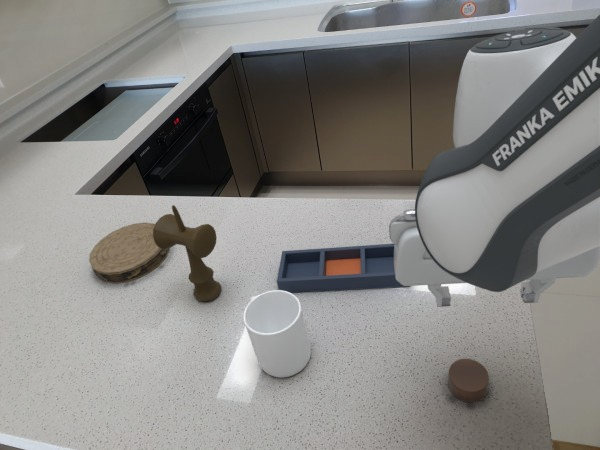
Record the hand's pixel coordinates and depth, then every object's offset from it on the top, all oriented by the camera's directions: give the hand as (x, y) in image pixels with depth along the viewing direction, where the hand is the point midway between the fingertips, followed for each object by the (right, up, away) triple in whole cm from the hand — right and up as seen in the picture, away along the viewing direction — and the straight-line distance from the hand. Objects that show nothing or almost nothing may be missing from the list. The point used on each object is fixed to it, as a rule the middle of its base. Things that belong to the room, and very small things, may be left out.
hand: (484, 300), depth 53 cm
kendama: (-38, -4, +32) cm, 50 cm away
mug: (-25, -11, +19) cm, 33 cm away
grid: (-13, 0, +30) cm, 33 cm away
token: (+1, -13, +9) cm, 16 cm away
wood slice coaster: (-57, +2, +45) cm, 72 cm away
